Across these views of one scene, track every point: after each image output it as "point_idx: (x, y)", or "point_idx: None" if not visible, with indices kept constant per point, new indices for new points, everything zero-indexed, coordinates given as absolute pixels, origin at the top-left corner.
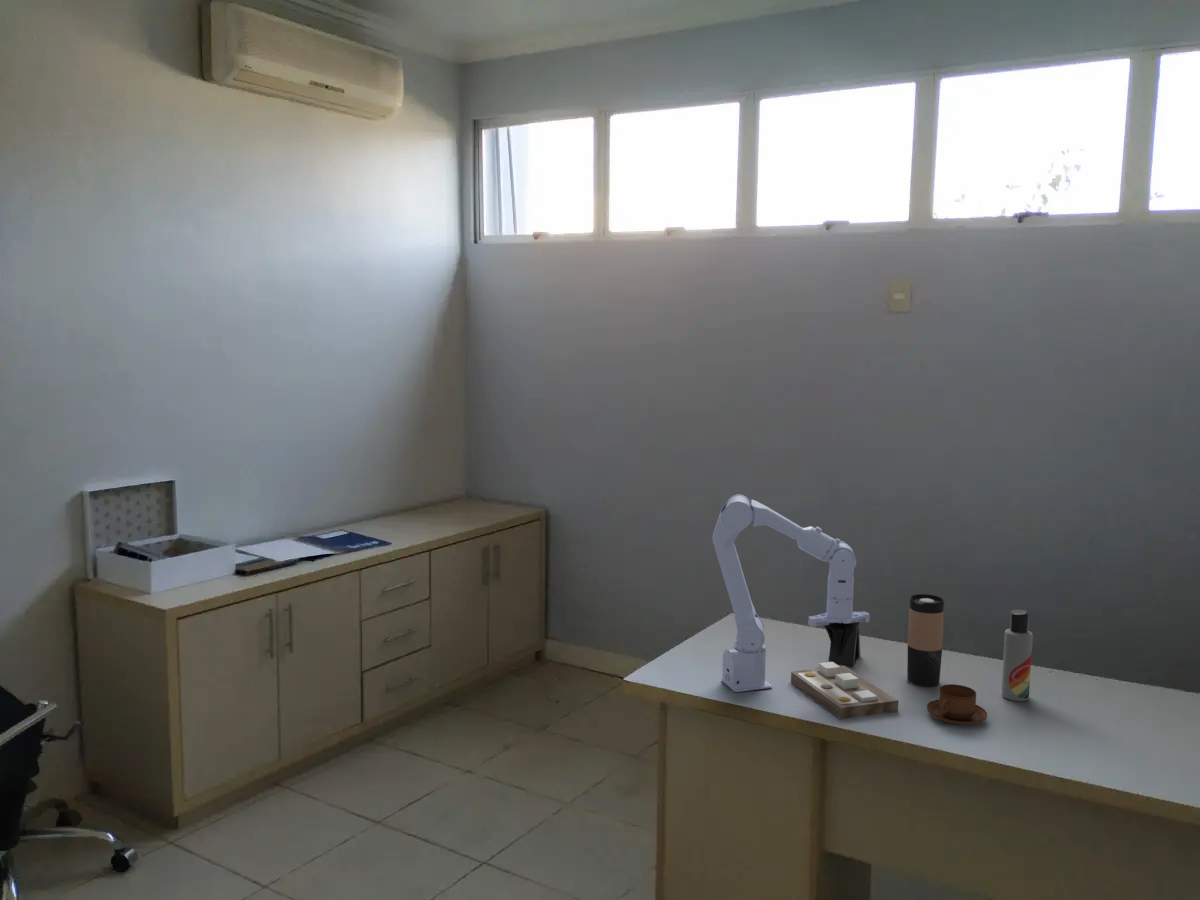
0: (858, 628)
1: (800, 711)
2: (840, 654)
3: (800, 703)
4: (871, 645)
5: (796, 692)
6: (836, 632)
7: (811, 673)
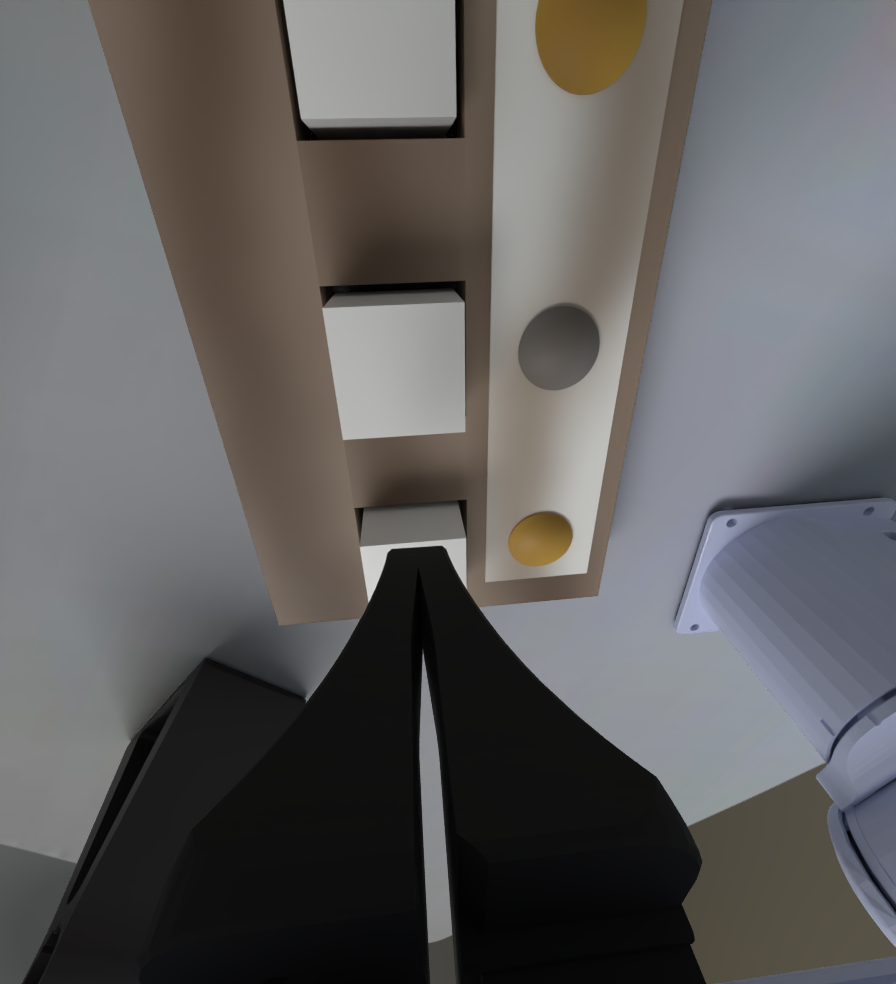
0: (64, 903)
1: (819, 165)
2: (415, 552)
3: (723, 296)
4: (48, 812)
5: (635, 446)
6: (620, 774)
7: (522, 554)
